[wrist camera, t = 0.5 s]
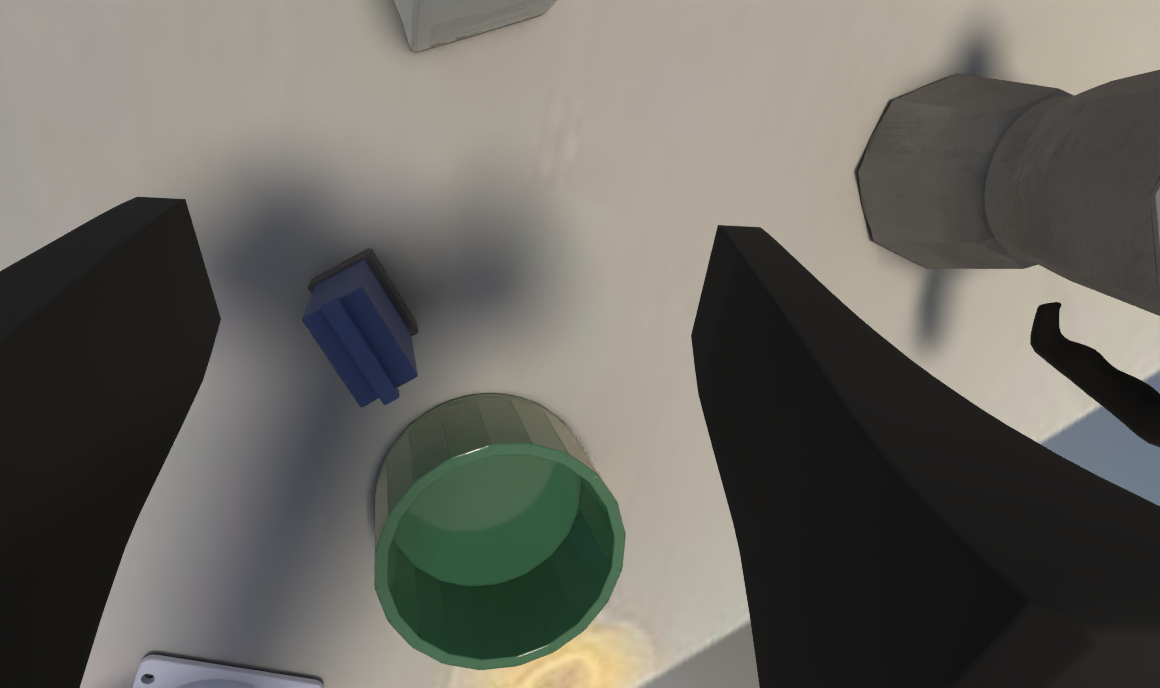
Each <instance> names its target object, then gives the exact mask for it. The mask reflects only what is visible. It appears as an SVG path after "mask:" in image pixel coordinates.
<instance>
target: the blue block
mask: <svg viewBox="0 0 1160 688" xmlns="http://www.w3.org/2000/svg"><path fill="white" fill-rule="evenodd" d="M308 289H309V290H310V292H311V293H312V296H311V299H310V301H309V303H308V306H307V308H306V311H305V313H304V316H303V318H302V321H303V322H304V324H305V325H306V327H307V328H308V330H309V331H310V333H311V334H312V336H313V337H314V339H315V340H316V342H317V343H318V345H319V346H320V348H321V349H322V351H323V352H324V354H325V355H326V357H327V358H328V360H329V361H330V362H331V364H332V365H333V367H334V368H335V370H336V371H337V373H338V374H339V376H340V377H341V379H342V380H343V382H344V383H345V385H346V386H347V388H348V389H349V391H350V392H351V394H352V395H353V397H354V398H355V400H356V401H357V403H358V404H359V406H360V407H364V406H366V405H367V404H369V403H371V402H373V401H375V400H376V399H378V398H380V400H381V401H382V403H383V404H384V405H387V404H388V403H390V402H392V401H394V400H396V399H397V398H399V397H400V396H399V390H398V387H399V386H401V385H403V384H405V383H407V382H408V381H410V380H412V379H414V378H415V377H417V376H418V375H417V369H416V362H415V356H414V350H413V344H412V338H411V336H413V335H415V334H417V333H418V328H417V323H416V321H415V319H414V318H413V316H412V314H411V313H410V311H409V309H408V308H407V306H406V305H405V303H404V301H403V300H402V298H401V296H400V295H399V293H398V291H397V290H396V288H395V287H394V285H393V283H392V282H391V280H390V278H389V277H388V275H387V273H386V272H385V270H384V268H383V267H382V265H381V264H380V262H379V260H378V259H377V257H376V255H375V254H374V252H373V250H372V249H371V248H368V249H367V250H365V251H363V252H361V253H359V254H357V255H356V256H354V257H352V258H350V259H348V260H346V261H344V262H343V263H341V264H339V265H337V266H335V267H333V268H331V269H330V270H328V271H326V272H324V273H322V274H320V275H319V276H317V277H315V278H313V279H312V280H311V282H310V284H309V286H308Z"/></svg>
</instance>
